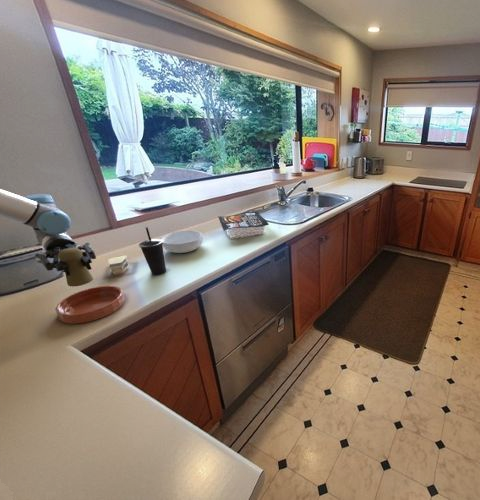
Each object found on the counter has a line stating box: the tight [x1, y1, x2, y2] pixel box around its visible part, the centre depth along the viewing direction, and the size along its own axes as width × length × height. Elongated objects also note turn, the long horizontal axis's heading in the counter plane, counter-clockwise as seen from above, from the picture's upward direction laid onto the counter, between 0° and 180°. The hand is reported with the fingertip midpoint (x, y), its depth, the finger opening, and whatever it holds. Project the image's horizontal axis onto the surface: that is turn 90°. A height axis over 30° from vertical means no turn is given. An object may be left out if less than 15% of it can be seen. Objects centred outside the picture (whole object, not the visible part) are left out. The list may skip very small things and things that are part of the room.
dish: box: [55, 285, 126, 325], centre depth 91 cm, size 16×16×4 cm
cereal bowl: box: [160, 230, 204, 254], centre depth 133 cm, size 17×17×7 cm
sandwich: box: [107, 255, 130, 276], centre depth 113 cm, size 10×9×6 cm
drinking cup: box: [138, 226, 167, 276], centre depth 110 cm, size 8×8×20 cm
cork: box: [58, 248, 94, 287], centre depth 86 cm, size 6×6×11 cm
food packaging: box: [217, 211, 270, 240], centre depth 157 cm, size 25×8×23 cm
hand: (78, 268), depth 83 cm, fingers closed on cork, 4 cm apart
